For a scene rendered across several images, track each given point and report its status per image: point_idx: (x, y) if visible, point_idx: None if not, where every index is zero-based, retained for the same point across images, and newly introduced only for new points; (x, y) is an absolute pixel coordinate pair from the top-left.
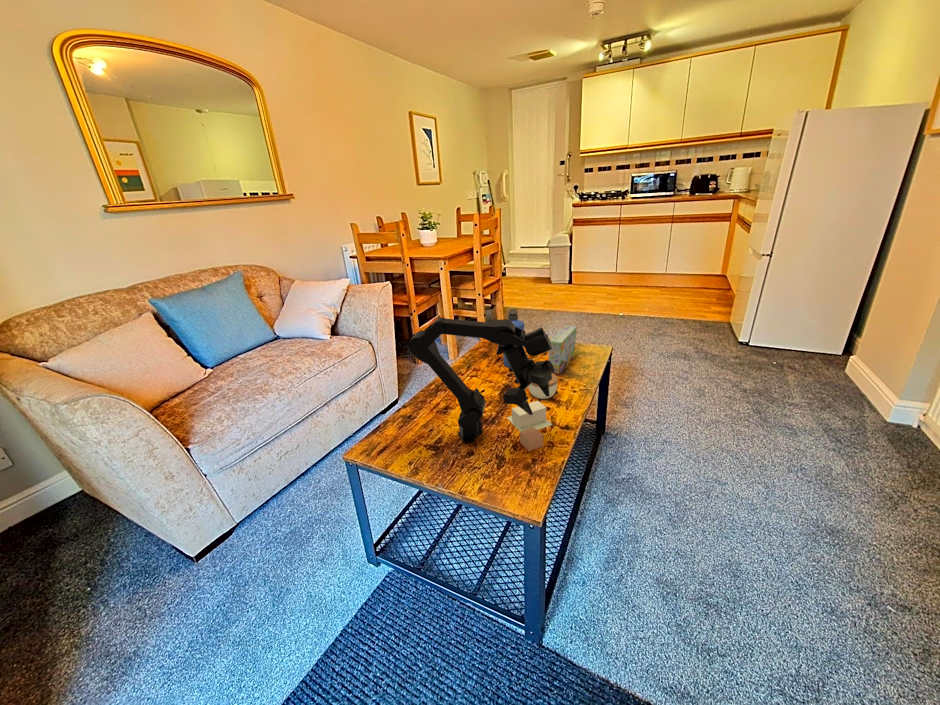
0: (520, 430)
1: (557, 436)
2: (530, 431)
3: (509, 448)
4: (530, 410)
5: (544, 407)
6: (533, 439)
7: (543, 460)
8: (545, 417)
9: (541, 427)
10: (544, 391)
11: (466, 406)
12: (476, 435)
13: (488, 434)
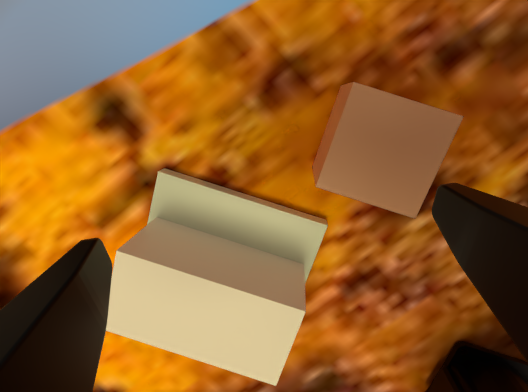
0: (311, 255)
1: (204, 100)
2: (371, 172)
3: None
4: (508, 209)
5: (124, 259)
6: (426, 105)
7: (421, 17)
8: (151, 225)
9: (218, 196)
10: (91, 320)
11: None
12: (497, 372)
13: (417, 342)
